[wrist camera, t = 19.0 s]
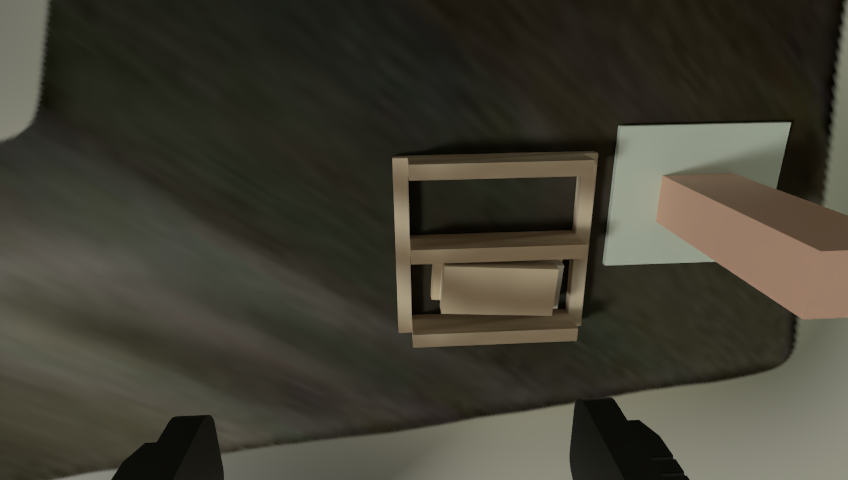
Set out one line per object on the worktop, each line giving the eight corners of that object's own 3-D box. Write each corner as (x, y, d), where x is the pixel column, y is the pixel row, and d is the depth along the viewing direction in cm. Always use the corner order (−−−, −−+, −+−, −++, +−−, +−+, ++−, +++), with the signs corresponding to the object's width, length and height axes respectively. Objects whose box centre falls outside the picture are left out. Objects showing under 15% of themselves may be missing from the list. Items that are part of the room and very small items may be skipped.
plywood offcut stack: (433, 246, 45) (436, 265, 41) (558, 249, 46) (573, 269, 42) (430, 292, 46) (433, 315, 42) (551, 295, 47) (565, 317, 43)
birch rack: (392, 155, 42) (392, 165, 38) (593, 150, 42) (610, 159, 39) (398, 327, 47) (398, 348, 44) (576, 320, 48) (590, 340, 44)
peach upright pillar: (662, 175, 43) (820, 251, 27) (733, 173, 43) (931, 246, 27) (655, 221, 44) (803, 319, 28) (724, 219, 45) (908, 314, 29)
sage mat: (618, 125, 42) (620, 126, 41) (786, 121, 42) (791, 122, 42) (602, 263, 46) (604, 265, 45) (756, 257, 47) (759, 260, 46)
